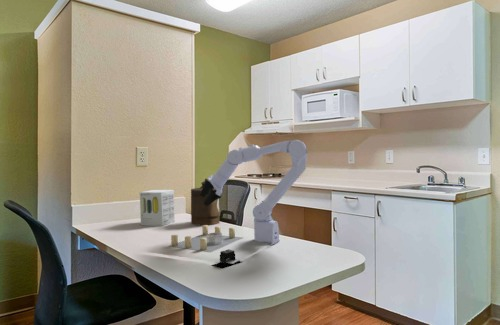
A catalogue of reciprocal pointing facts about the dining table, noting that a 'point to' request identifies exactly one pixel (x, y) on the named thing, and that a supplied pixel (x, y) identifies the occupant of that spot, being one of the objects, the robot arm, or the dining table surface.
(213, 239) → the faceted star polyhedron
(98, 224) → the dining table surface
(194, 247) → the board
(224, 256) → the black block
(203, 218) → the wooden container
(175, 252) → the dining table surface
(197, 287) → the dining table surface
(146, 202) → the supplement box
